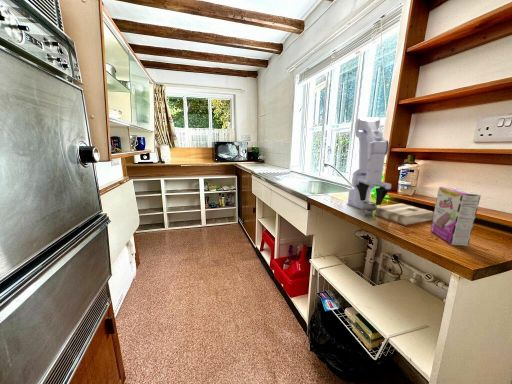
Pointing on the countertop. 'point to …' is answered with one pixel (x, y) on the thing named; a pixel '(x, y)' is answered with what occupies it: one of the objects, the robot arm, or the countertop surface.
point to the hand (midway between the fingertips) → (370, 202)
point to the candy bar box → (454, 215)
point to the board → (404, 213)
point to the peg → (369, 208)
